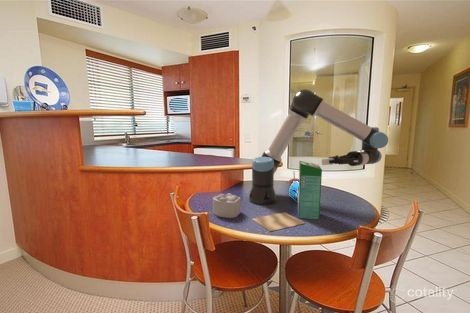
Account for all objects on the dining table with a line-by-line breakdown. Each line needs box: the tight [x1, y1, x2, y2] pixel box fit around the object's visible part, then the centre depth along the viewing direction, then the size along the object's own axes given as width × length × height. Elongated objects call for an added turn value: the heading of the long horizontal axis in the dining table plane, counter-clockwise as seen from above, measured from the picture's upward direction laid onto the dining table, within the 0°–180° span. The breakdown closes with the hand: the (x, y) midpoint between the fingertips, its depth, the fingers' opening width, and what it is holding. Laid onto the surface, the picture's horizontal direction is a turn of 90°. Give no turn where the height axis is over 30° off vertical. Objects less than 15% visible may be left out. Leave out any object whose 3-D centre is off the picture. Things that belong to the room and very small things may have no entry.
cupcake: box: [288, 171, 299, 187], centre depth 156 cm, size 9×8×12 cm
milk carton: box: [297, 160, 323, 220], centre depth 113 cm, size 9×9×25 cm
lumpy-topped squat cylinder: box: [212, 192, 242, 219], centre depth 117 cm, size 10×13×9 cm
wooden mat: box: [251, 211, 306, 233], centre depth 107 cm, size 18×14×1 cm
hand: (322, 162), depth 116 cm, fingers closed
